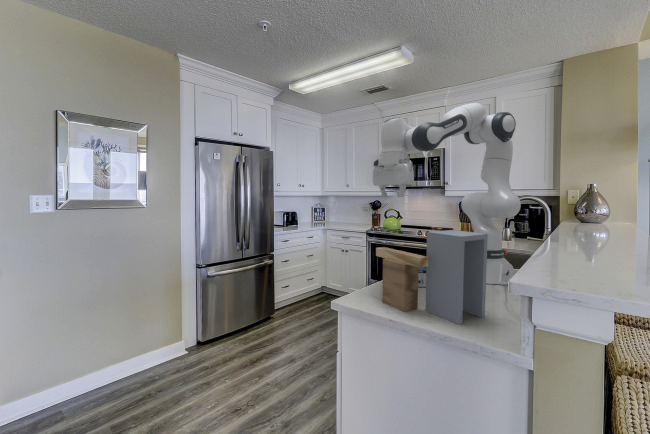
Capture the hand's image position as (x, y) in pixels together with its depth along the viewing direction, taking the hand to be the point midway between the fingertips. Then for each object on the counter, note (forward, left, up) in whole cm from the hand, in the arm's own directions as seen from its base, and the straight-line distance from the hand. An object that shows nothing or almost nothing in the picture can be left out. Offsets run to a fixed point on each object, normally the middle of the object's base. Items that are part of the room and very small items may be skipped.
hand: (392, 197), depth 124 cm
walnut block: (+8, +14, -37) cm, 40 cm away
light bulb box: (-18, -2, -37) cm, 42 cm away
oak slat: (+8, +14, -22) cm, 27 cm away
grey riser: (-2, +28, -37) cm, 47 cm away
